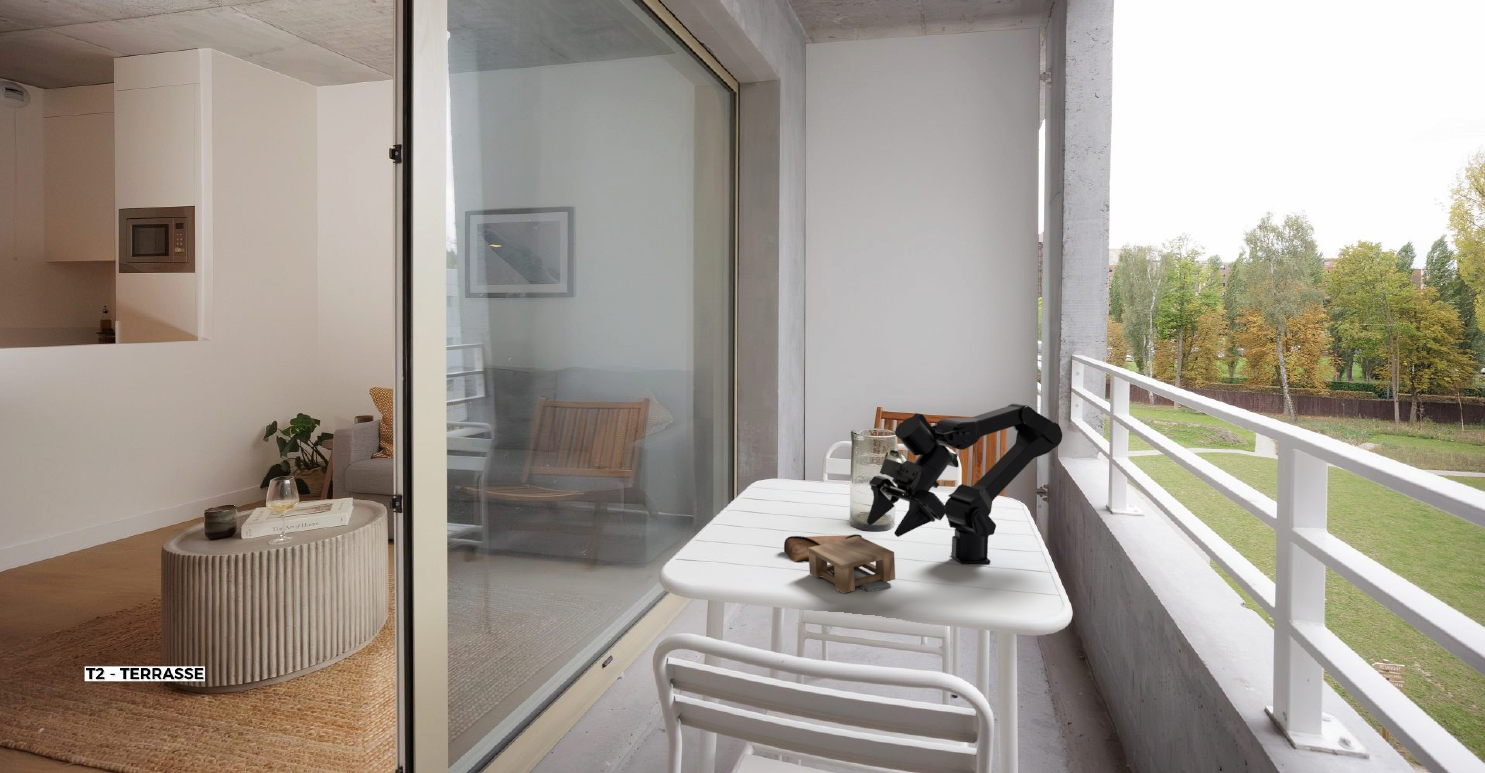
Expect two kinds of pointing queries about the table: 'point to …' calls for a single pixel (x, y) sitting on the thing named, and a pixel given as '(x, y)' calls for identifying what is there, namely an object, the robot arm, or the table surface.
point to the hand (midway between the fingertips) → (881, 529)
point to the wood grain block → (851, 562)
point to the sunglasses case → (807, 545)
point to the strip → (872, 585)
